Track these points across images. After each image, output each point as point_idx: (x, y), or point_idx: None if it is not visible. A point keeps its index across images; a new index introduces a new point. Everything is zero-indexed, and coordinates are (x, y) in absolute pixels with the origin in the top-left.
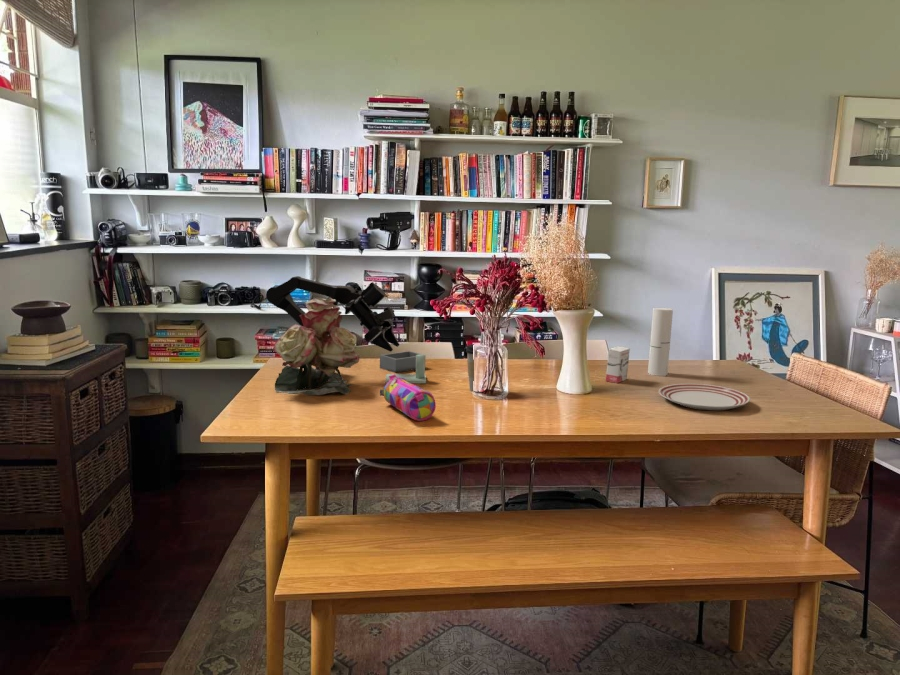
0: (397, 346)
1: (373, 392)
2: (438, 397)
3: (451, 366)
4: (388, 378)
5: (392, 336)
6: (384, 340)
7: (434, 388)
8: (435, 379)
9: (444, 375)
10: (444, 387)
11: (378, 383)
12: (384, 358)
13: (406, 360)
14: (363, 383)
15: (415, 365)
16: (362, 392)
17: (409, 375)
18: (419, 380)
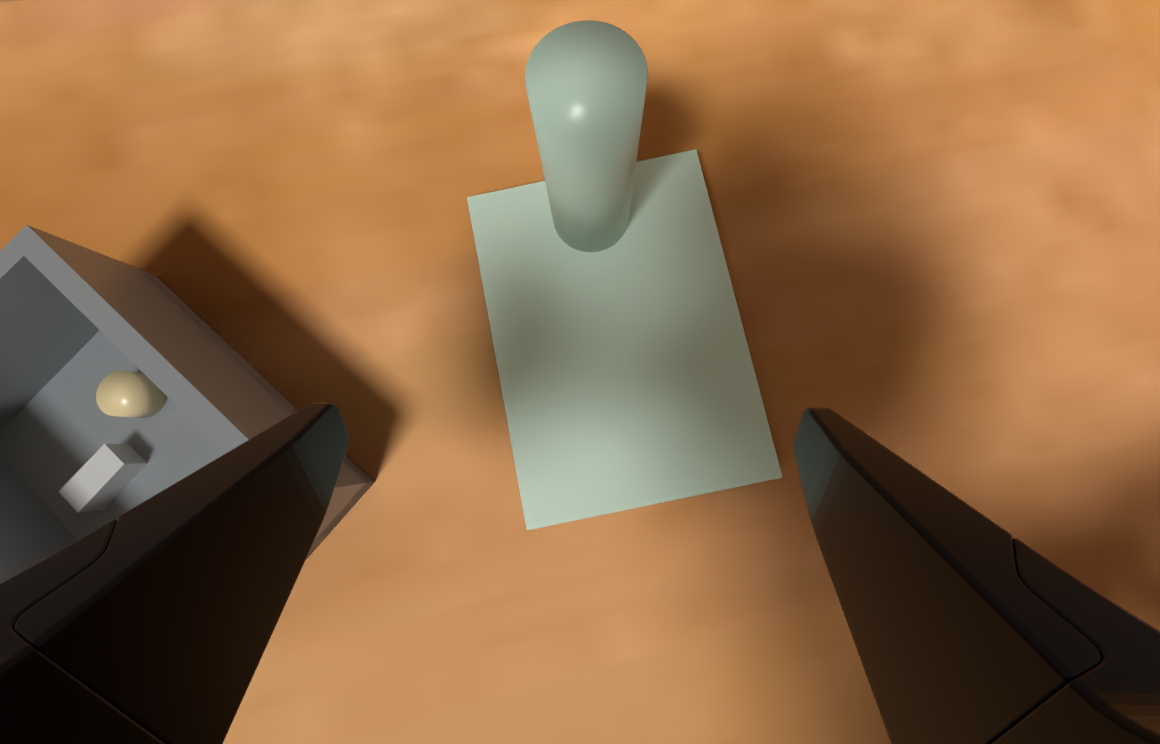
0: (348, 435)
1: (1097, 496)
2: (1042, 11)
3: (65, 92)
4: (694, 469)
5: (171, 585)
6: (1111, 625)
7: (804, 81)
8: (527, 126)
9: (382, 88)
10: (752, 24)
11: (788, 534)
12: None
13: (218, 393)
14: (830, 669)
15: (193, 332)
16: (1135, 589)
17: (535, 316)
18: (690, 201)
